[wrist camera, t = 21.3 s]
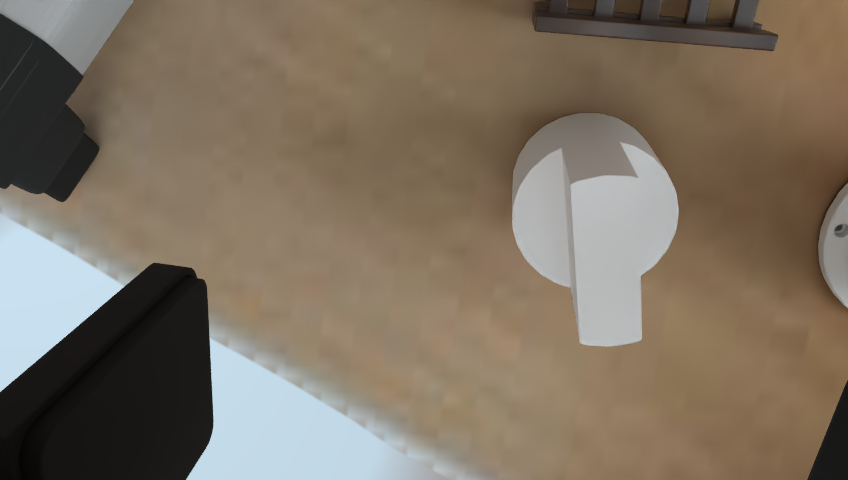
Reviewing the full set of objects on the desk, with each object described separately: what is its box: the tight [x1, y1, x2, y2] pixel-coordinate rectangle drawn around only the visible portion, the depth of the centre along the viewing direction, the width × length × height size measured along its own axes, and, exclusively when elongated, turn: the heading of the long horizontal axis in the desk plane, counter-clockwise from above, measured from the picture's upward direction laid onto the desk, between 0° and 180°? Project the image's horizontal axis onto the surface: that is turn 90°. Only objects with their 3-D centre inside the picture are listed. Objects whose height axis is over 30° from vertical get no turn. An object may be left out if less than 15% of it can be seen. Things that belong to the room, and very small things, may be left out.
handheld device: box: [0, 0, 134, 202], centre depth 40 cm, size 4×22×15 cm
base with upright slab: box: [512, 113, 679, 347], centre depth 38 cm, size 9×9×12 cm
